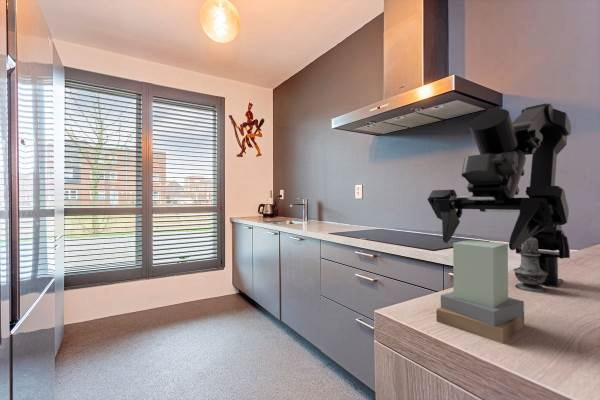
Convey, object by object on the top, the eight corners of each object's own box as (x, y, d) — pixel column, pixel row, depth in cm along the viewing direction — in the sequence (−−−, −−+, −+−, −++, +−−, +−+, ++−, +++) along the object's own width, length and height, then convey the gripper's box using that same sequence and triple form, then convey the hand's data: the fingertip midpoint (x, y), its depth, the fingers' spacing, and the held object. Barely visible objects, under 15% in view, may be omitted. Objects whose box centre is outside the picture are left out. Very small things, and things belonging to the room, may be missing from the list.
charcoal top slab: (470, 298, 50) (470, 287, 50) (523, 314, 43) (523, 301, 43) (440, 307, 46) (440, 295, 46) (494, 326, 39) (493, 311, 39)
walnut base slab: (462, 311, 51) (461, 297, 51) (524, 328, 44) (524, 312, 44) (436, 325, 45) (436, 309, 45) (503, 347, 38) (502, 328, 38)
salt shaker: (555, 293, 58) (553, 234, 58) (521, 291, 59) (519, 233, 59) (539, 284, 63) (538, 230, 63) (508, 283, 65) (507, 230, 65)
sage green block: (469, 290, 48) (469, 239, 48) (508, 299, 44) (507, 243, 44) (453, 297, 45) (453, 243, 45) (493, 307, 40) (493, 247, 40)
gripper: (431, 148, 55) (399, 207, 48) (562, 127, 40) (542, 209, 33) (451, 190, 59) (424, 249, 53) (575, 185, 45) (559, 267, 38)
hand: (475, 244), depth 44 cm, fingers open, 9 cm apart
